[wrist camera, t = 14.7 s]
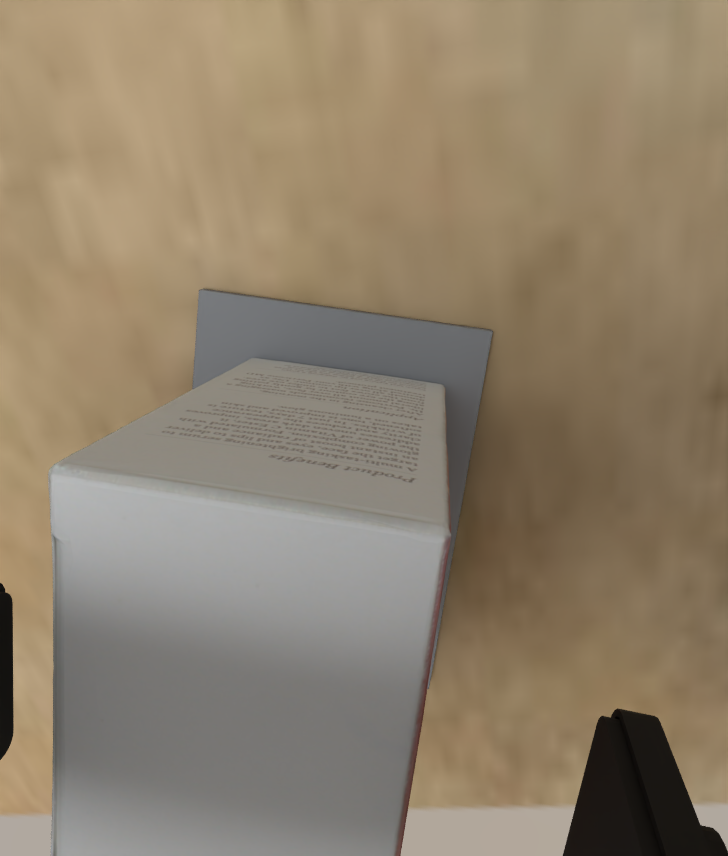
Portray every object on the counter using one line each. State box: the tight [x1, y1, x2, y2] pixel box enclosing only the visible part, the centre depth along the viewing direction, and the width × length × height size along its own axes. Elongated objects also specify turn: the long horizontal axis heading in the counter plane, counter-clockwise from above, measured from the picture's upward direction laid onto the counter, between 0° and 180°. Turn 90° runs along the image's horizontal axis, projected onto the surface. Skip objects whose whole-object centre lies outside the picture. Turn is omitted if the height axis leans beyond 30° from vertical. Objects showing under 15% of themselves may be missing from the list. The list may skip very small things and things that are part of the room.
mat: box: [192, 289, 493, 689], centre depth 20 cm, size 8×11×1 cm
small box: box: [48, 358, 451, 856], centre depth 15 cm, size 8×6×10 cm
